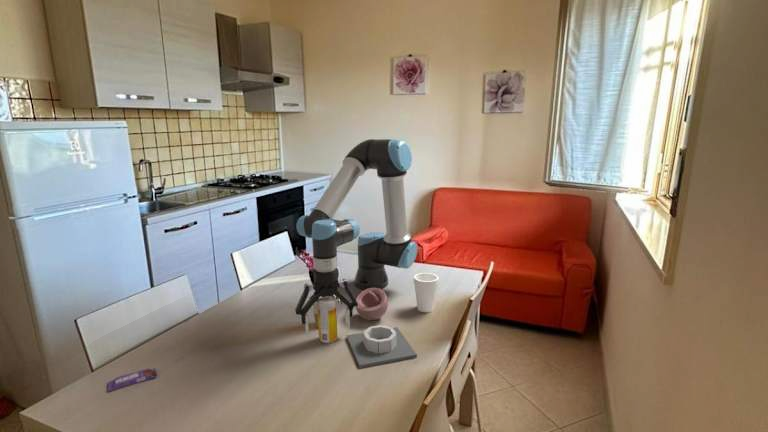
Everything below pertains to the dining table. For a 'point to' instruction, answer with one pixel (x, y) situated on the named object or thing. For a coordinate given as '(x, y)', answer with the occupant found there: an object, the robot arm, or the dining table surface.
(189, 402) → the dining table surface
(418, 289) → the foam cup
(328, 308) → the beer can
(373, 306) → the mortar and pestle
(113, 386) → the snack package
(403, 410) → the dining table surface
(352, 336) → the socket
